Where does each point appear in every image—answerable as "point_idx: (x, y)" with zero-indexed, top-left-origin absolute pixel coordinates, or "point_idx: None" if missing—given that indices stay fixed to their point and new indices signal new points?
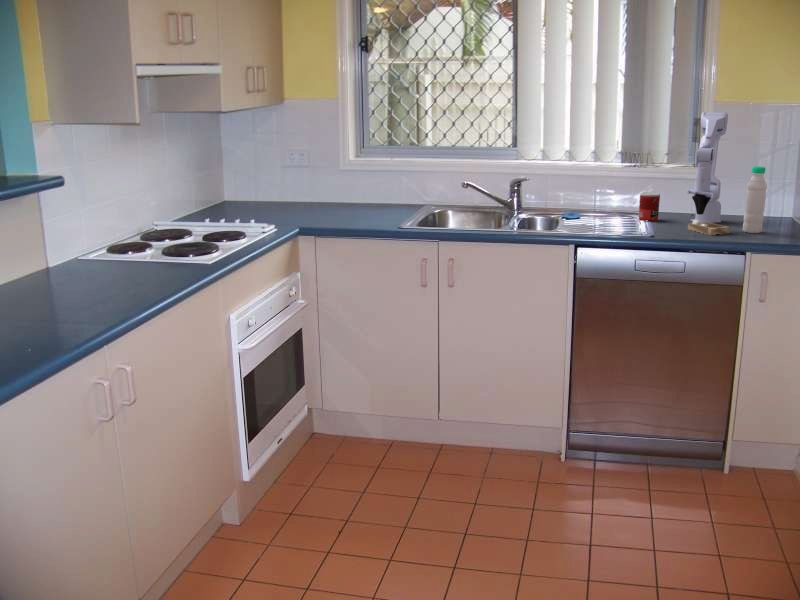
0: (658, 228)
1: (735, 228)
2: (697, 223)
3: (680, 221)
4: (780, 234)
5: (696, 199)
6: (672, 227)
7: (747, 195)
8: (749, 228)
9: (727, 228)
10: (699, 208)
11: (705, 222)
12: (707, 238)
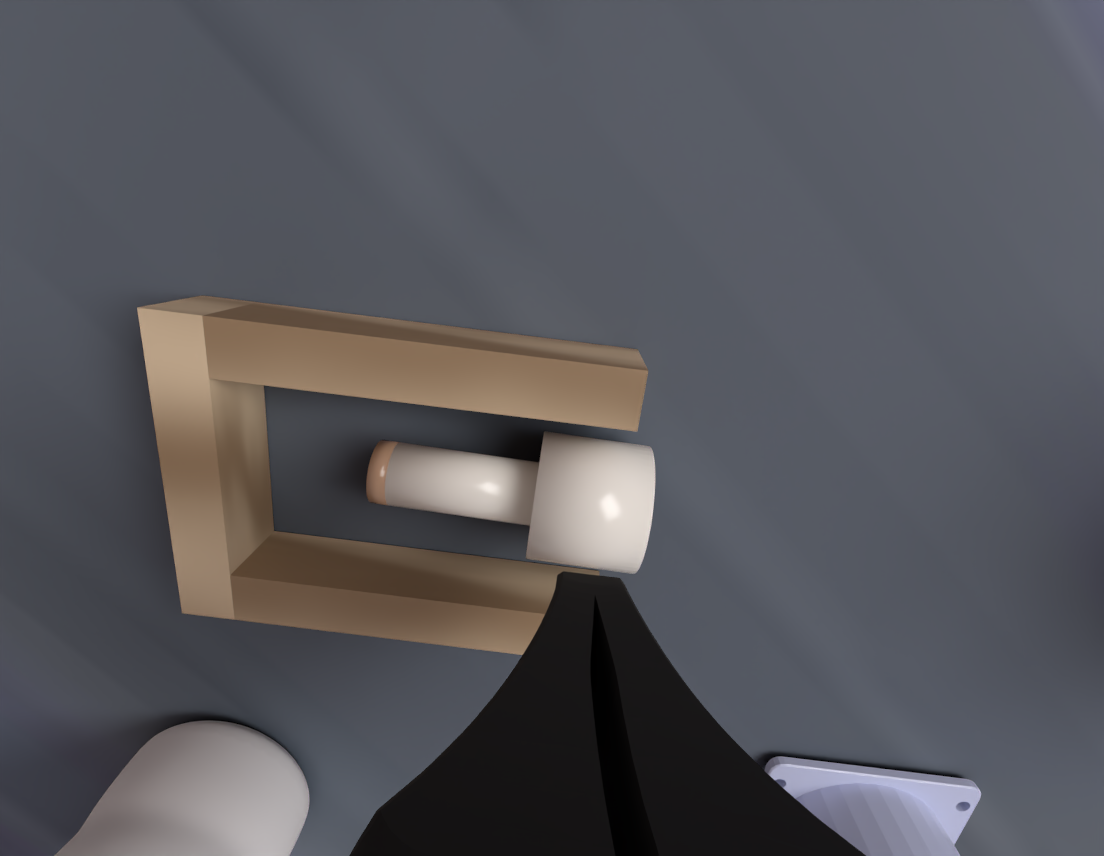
0: (995, 41)
1: None
2: (542, 457)
3: (1043, 696)
4: None
5: (643, 825)
6: (886, 317)
7: None
8: (148, 757)
9: (186, 570)
10: (536, 634)
11: None
12: (21, 68)
